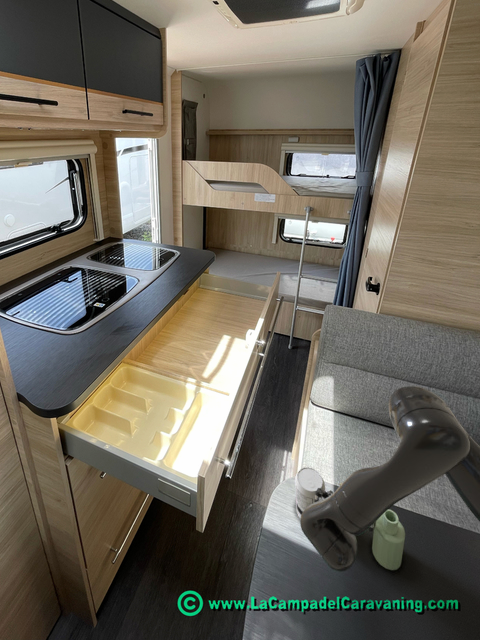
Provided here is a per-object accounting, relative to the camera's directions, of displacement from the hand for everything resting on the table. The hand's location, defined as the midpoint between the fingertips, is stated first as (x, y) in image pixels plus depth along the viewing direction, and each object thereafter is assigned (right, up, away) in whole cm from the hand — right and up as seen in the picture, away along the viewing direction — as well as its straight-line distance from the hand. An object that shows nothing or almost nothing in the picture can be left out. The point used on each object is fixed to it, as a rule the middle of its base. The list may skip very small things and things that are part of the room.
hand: (347, 502), depth 89 cm
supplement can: (-7, -10, +9) cm, 16 cm away
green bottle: (+9, -12, -3) cm, 16 cm away
